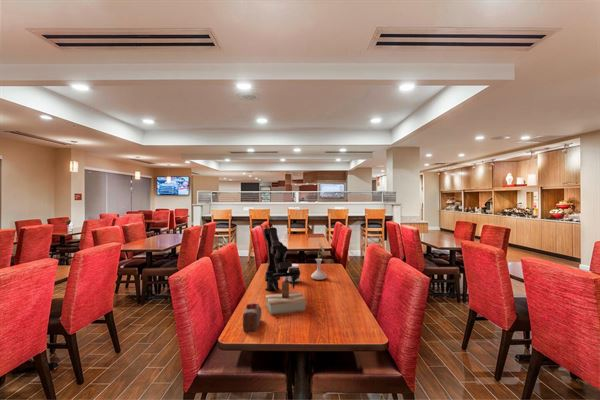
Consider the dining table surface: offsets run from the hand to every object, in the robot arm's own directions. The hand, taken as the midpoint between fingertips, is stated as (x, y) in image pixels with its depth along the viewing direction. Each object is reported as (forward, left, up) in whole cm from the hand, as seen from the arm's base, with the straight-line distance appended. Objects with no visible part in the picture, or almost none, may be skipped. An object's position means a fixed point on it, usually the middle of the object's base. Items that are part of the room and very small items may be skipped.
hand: (285, 289), depth 161 cm
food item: (-1, -25, -10) cm, 27 cm away
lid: (0, 0, -5) cm, 5 cm away
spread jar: (-26, +43, -10) cm, 51 cm away
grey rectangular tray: (0, 0, -10) cm, 10 cm away
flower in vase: (-14, +60, -10) cm, 62 cm away
